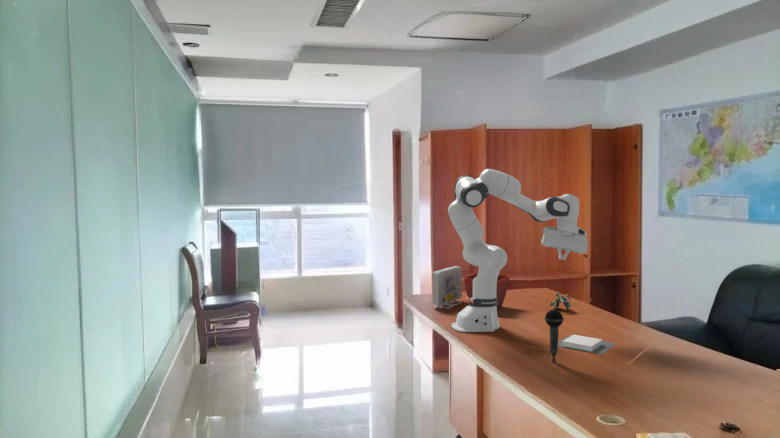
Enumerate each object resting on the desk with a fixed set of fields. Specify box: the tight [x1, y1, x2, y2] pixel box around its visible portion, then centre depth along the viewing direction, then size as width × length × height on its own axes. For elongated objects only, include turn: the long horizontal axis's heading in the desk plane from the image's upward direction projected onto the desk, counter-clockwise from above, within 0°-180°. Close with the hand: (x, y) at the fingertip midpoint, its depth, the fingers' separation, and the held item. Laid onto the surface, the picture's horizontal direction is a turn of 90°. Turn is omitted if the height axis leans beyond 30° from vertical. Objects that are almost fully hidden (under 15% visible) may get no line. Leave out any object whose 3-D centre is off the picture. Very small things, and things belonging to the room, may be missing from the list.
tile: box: [561, 334, 603, 353], centre depth 228 cm, size 2×12×12 cm
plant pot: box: [463, 272, 511, 310], centre depth 299 cm, size 19×19×17 cm
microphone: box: [544, 309, 565, 363], centre depth 209 cm, size 7×7×20 cm
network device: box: [432, 265, 463, 309], centre depth 307 cm, size 26×9×20 cm, turn 144°
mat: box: [558, 334, 617, 355], centre depth 230 cm, size 18×20×1 cm
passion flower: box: [546, 292, 572, 312], centre depth 292 cm, size 11×11×12 cm
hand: (562, 259), depth 251 cm, fingers closed
